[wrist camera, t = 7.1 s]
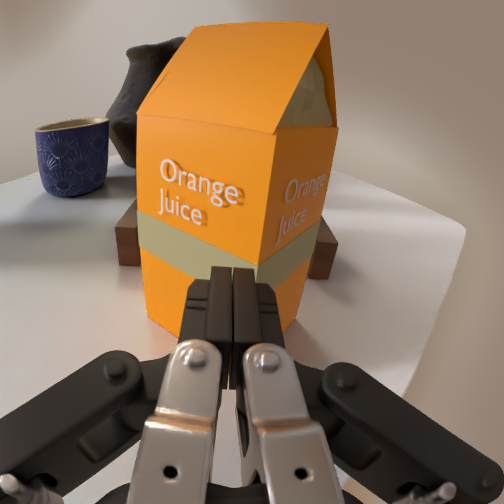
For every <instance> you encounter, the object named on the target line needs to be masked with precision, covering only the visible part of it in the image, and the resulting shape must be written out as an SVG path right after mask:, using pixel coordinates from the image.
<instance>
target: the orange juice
mask: <svg viewBox="0 0 504 504" xmlns="http://www.w3.org/2000/svg"><path fill="white" fill-rule="evenodd" d="M328 25H329V24H323V23H306V22H245V23H230V24H218V25H209V26H200V27H195V28H194V29H193V30H192V32H191V33H190V34H189V35H188V37H187V38H186V39H185V40H184V42H183V43H182V44H181V46H180V47H179V48H178V50H177V51H176V53H175V54H174V55H173V57H172V58H171V60H170V61H169V62H168V64H167V65H166V67H165V68H164V70H163V71H162V73H161V74H160V76H159V77H158V79H157V80H156V82H155V83H154V85H153V86H152V88H151V89H150V91H149V93H148V94H147V96H146V97H145V99H144V101H143V102H142V104H141V106H140V107H139V109H138V111H137V112H136V114H137V151H136V167H137V206H138V210H137V223H138V239H139V247H140V254H141V265H142V275H143V284H144V293H145V301H146V309H147V316H149V317H150V318H151V319H153V320H154V321H155V322H157V323H158V324H159V325H161V326H162V327H164V328H165V329H166V330H168V331H169V332H171V333H172V334H173V335H175V336H176V337H178V338H179V334H180V328H181V323H182V317H183V312H184V306H185V301H186V295H187V290H188V287H189V286H190V285H191V283H192V282H193V281H194V280H195V279H206V280H210V276H211V267H212V266H223V267H232V275H233V267H238V268H253V269H254V273H255V282H256V283H268V284H269V286H270V287H271V288H272V289H273V291H274V292H275V294H276V300H277V305H278V311H279V316H280V322H281V328H282V333H283V332H284V331H285V329H286V328H287V327H288V326H289V325H290V324H291V323H292V321H293V320H294V319H295V318H296V314H297V310H298V307H299V303H300V299H301V295H302V292H303V288H304V284H305V280H306V276H307V272H308V268H309V264H310V260H311V256H312V254H313V251H314V247H315V243H316V239H317V235H318V230H319V226H320V222H321V219H320V218H321V214H322V209H323V205H324V200H325V195H326V191H327V186H328V181H329V176H330V171H331V166H332V161H333V156H334V151H335V146H336V140H337V135H338V128H337V119H336V101H335V88H334V77H333V65H332V56H331V47H330V38H329V30H328Z"/></svg>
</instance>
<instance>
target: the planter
mask: <svg viewBox="0 0 504 504" xmlns="http://www.w3.org/2000/svg"><path fill="white" fill-rule="evenodd" d="M35 134H36V135H35V136H36V148H37V158H38V165H39V172H40V176H41V181H42V184H43V187H44V188H45V190H46V191H47V192H48V193H50V194H52V195H54V196H60V197H69V196H76V195H81V194H84V193H87V192H90V191H92V190H94V189H96V188H98V187H99V186H100V185H101V184H102V183H103V182H104V180H105V178H106V174H107V166H108V143H109V119H108V118H83V119H73V120H67V121H61V122H56V123H52V124H48V125H44V126H41V127H39V128H37V129H36V130H35Z"/></svg>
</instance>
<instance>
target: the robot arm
mask: <svg viewBox="0 0 504 504" xmlns="http://www.w3.org/2000/svg"><path fill="white" fill-rule="evenodd" d="M228 374H229V390H236V400H237V401H236V408H235V413H236V422H237V430H238V438H239V446H240V454H241V476H242V486H243V487H240V488H229V487H225V486H221V485H217V484H213V483H211V481H212V469H213V457H214V448H215V438H216V429H217V419H218V410H219V408H220V406H221V397H222V389H226V390H227V384H228ZM140 439H141V441H140V445H139V449H138V453H137V457H136V461H135V466H134V470H133V474H132V479H131V483H128V484H124V485H122V486H120V487H117V488H116V489H114V490H112V491H110V492H109V493H108V494H106V495H105V496H104V497H103V498H101V499H100V500H99V501H98V502H96V503H95V504H363V503H362V502H361V501H360V500H358V499H357V498H356V497H354V496H353V495H351V494H350V493H348V492H346V491H344V490H342V489H341V487H340V483H339V480H338V477H337V473H336V470H335V466H334V464H336V465H337V466H338V467H339V468H341V469H342V470H343V471H344V472H346V473H347V474H348V475H350V476H351V477H352V478H353V479H355V480H356V481H357V482H359V483H360V484H361V485H363V486H364V487H366V488H367V489H368V490H370V491H371V492H372V493H374V494H375V495H377V496H378V497H379V498H381V499H382V500H384V501H385V502H387V503H388V504H488V503H490V502H492V501H494V500H495V499H497V498H498V497H499V495H500V494H501V492H502V490H503V488H504V474H503V471H502V469H501V467H500V466H499V465H498V464H497V463H496V462H494V461H493V460H491V459H490V458H488V457H487V456H485V455H484V454H482V453H481V452H479V451H477V450H476V449H474V448H473V447H472V446H470V445H469V444H467V443H465V442H464V441H463V440H461V439H460V438H458V437H457V436H455V435H453V434H452V433H451V432H449V431H448V430H446V429H445V428H444V427H442V426H441V425H439V424H438V423H436V422H435V421H433V420H432V419H431V418H429V417H427V416H426V415H425V414H423V413H422V412H420V411H419V410H418V409H416V408H415V407H413V406H412V405H410V404H409V403H408V402H406V401H405V400H403V399H402V398H401V397H399V396H398V395H396V394H395V393H394V392H392V391H391V390H389V389H388V388H387V387H385V386H384V385H383V384H381V383H380V382H378V381H377V380H376V379H374V378H373V377H372V376H370V375H369V374H367V373H366V372H365V371H363V370H362V369H361V368H359V367H357V366H356V365H353V364H350V363H346V362H338V363H334V364H332V365H330V366H328V367H327V368H326V369H325V371H323V370H319V369H315V368H311V367H307V366H304V365H302V364H299V363H298V362H296V361H295V360H294V359H293V358H292V356H291V355H290V353H289V352H288V351H287V350H286V349H285V345H284V339H283V333H282V328H281V322H280V316H279V311H278V305H277V300H276V294H275V292H274V291H273V289H272V288H271V287H270V286H269V284H268V283H256V282H255V273H254V269H253V268H238V267H233V275H232V267H223V266H212V267H211V276H210V280H206V279H195V280H194V281H193V282H192V283H191V285H190V286H189V287H188V290H187V295H186V301H185V306H184V312H183V317H182V323H181V328H180V334H179V340H178V344H177V345H176V346H175V347H174V348H173V350H172V351H171V353H170V354H168V355H166V356H165V357H162V358H159V359H155V360H149V361H142V362H139V361H138V359H137V358H136V357H135V356H134V355H132V354H130V353H128V352H125V351H119V350H115V351H109V352H106V353H104V354H102V355H100V356H99V357H97V358H96V359H94V360H93V361H91V362H89V363H88V364H86V365H85V366H83V367H82V368H80V369H78V370H77V371H75V372H74V373H72V374H71V375H69V376H67V377H66V378H64V379H63V380H61V381H60V382H58V383H56V384H55V385H53V386H52V387H50V388H48V389H47V390H45V391H44V392H42V393H41V394H39V395H37V396H36V397H34V398H33V399H31V400H29V401H28V402H26V403H25V404H23V405H22V406H20V407H18V408H17V409H15V410H14V411H12V412H10V413H9V414H7V415H6V416H4V417H3V418H1V419H0V504H64V501H63V499H62V497H63V496H65V495H66V494H68V493H69V492H71V491H72V490H74V489H75V488H77V487H78V486H79V485H81V484H82V483H84V482H85V481H86V480H88V479H89V478H91V477H92V476H93V475H95V474H96V473H97V472H99V471H100V470H101V469H103V468H104V467H106V466H107V465H108V464H110V463H111V462H112V461H113V460H115V459H116V458H117V457H119V456H120V455H121V454H123V453H124V452H125V451H126V450H128V449H129V448H130V447H132V446H133V445H134V444H135V443H137V442H138V441H139V440H140Z"/></svg>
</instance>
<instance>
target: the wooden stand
mask: <svg viewBox="0 0 504 504" xmlns="http://www.w3.org/2000/svg"><path fill="white" fill-rule="evenodd" d="M136 192H137V167H136ZM137 210H138V206H137V198H136V200H135V201H134V202H133V204H132V205H131V206H130V207H129V209H128V210H127V211H126V213H125V214H124V215H123V217H122V218H121V219H120V221H119V222H118V223H117V225H116V226H115V232H116V241H117V250H118V258H119V264H120V265H130V266H139V264H140V262H141V254H140V247H139V239H138V223H137ZM320 219H321V222H320V226H319V230H318V235H317V239H316V243H315V247H314V251H313V254H312V256H311V260H310V264H309V268H308V272H307V274H308V277H309V278H311V279H328V278H329V275H330V271H331V268H332V265H333V261H334V258H335V254H336V251H337V247H338V242H337V240H336V239H335V237H334V235H333V234H332V232H331V230H330V228H329V227H328V225H327V224H326V222H325V220H324V219H323V217H322V215H321V218H320Z"/></svg>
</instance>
